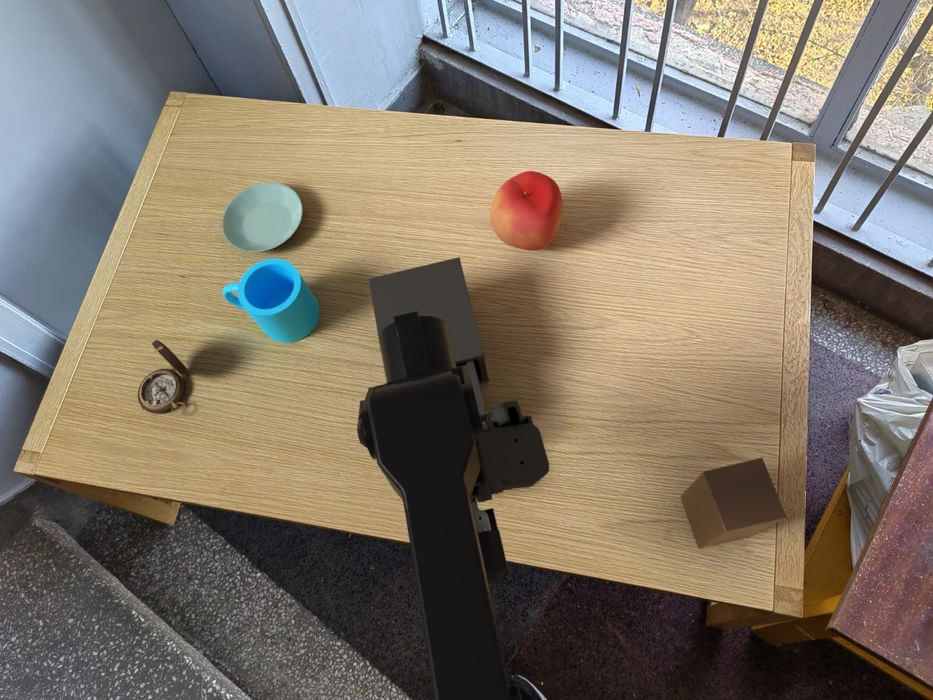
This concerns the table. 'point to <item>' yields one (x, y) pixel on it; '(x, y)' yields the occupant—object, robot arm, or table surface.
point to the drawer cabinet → (432, 305)
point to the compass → (164, 384)
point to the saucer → (262, 217)
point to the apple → (527, 211)
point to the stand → (732, 503)
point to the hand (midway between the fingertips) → (461, 497)
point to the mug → (276, 300)
